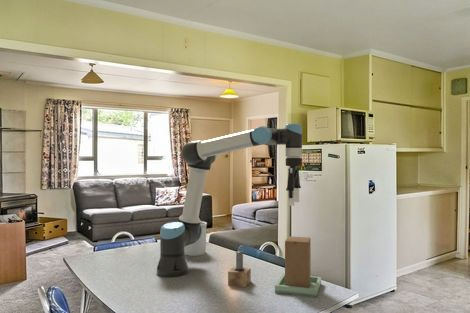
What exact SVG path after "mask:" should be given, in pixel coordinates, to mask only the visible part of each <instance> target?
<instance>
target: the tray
mask: <svg viewBox="0 0 470 313" xmlns="http://www.w3.org/2000/svg"><path fill="white" fill-rule="evenodd" d="M321 285H322V277H321V276H312V275H311V282H310V287H309V288H304V287H294V286H285V273H282V274H281V276H280V277H279V279H278V281H277V282H276V283H275V285H274V293H275V294H285V295H291V296H292V295H294V296H300V297H311V298H317V297H318V295H319V291H320V288H321Z"/></svg>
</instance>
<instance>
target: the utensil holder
mask: <svg viewBox="0 0 470 313" xmlns="http://www.w3.org/2000/svg"><path fill="white" fill-rule="evenodd" d="M200 225H201V227H202V236H201V238H200V239H199V240H198V241H197V242H195V243H194V244H190V245H187V246H185V247H184V255H185V256H190V257H192V256H195V257H197V256H202V255H205V254H206V252H207V226H208V222H206V221H203V220H201V223H200Z"/></svg>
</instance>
